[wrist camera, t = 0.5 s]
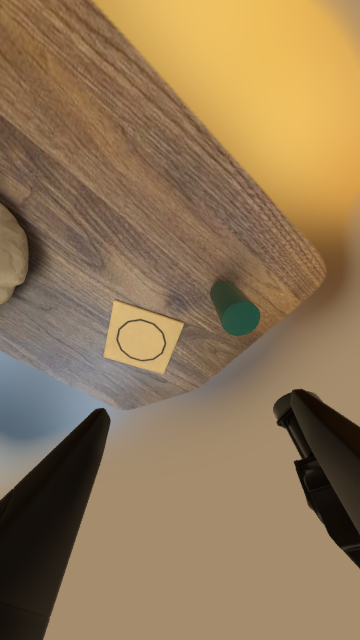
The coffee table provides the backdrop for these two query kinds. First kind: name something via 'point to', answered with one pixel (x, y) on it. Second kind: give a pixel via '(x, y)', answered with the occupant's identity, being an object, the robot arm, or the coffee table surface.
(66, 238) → the coffee table surface
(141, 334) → the sketch card
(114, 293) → the coffee table surface
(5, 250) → the decorative stone
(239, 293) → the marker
